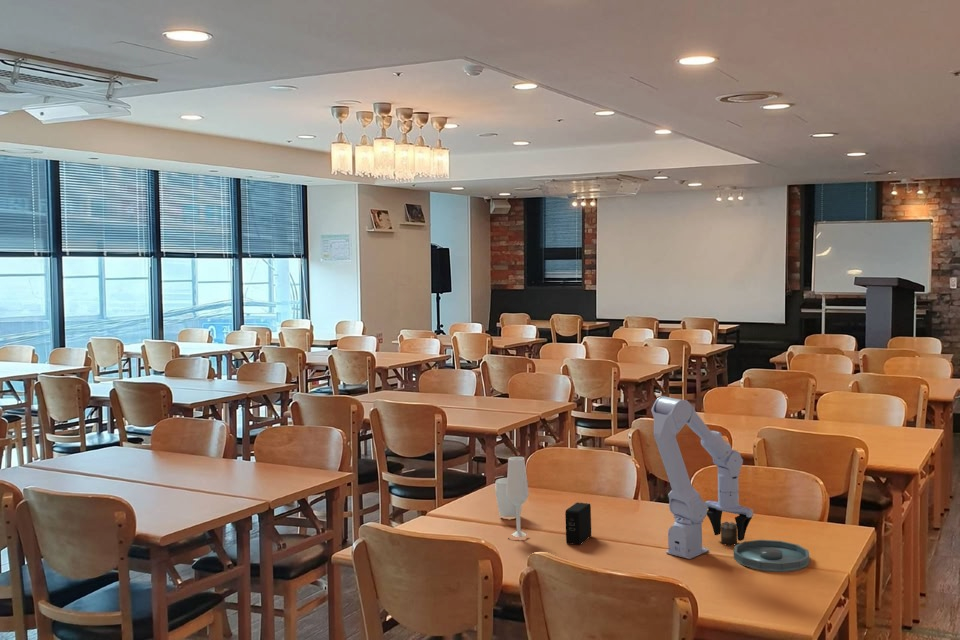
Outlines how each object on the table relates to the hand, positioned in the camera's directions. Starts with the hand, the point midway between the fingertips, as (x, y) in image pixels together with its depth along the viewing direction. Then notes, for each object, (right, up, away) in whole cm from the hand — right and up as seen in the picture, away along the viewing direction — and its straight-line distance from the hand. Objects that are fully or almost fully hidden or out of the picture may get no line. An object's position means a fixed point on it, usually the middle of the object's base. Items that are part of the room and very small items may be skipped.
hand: (729, 537), depth 258 cm
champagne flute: (-60, -3, +12) cm, 61 cm away
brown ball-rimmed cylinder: (0, -2, 0) cm, 2 cm away
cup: (-61, -2, +33) cm, 70 cm away
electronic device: (-42, -3, +8) cm, 43 cm away
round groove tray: (+7, -2, -15) cm, 17 cm away
